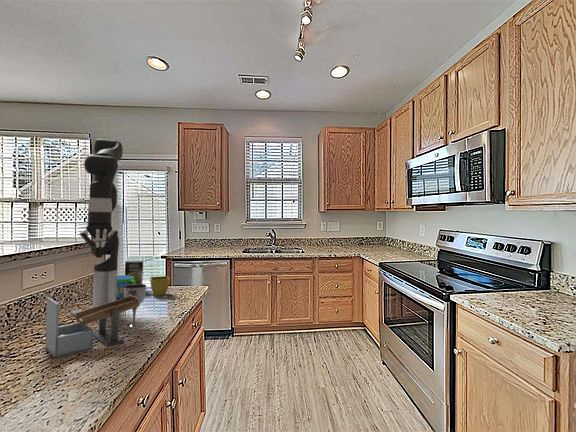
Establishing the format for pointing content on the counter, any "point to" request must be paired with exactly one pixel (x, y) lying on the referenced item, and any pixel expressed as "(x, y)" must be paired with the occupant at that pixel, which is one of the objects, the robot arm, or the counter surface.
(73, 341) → the grey-blue open bin
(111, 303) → the lever
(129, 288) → the wine glass
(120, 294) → the snack cup
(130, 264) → the coffee box
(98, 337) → the lever stand
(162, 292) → the flower pot
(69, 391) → the counter surface
